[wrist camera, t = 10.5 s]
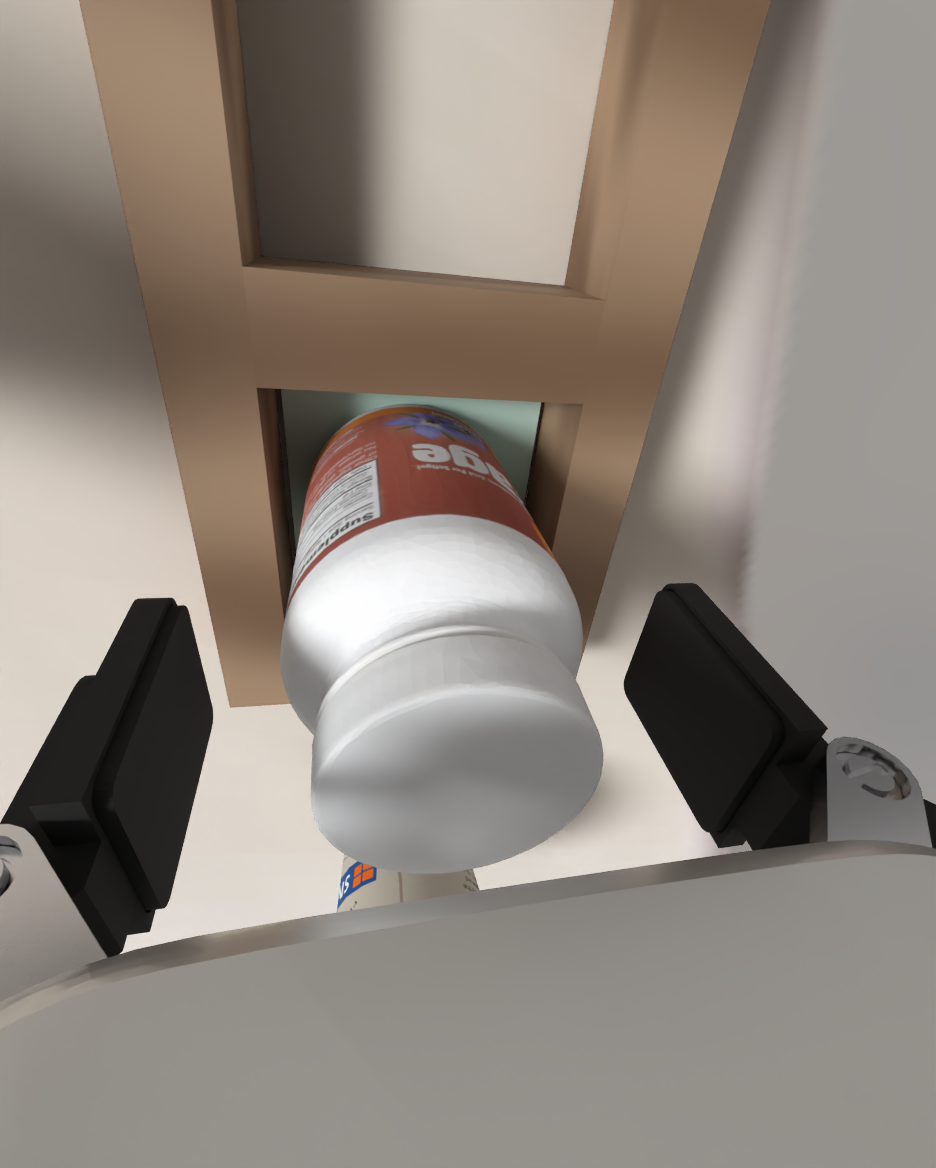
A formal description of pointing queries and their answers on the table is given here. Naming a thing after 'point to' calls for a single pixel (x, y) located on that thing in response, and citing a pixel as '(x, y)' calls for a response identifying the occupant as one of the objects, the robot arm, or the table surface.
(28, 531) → the table surface
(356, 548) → the pill bottle
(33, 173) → the table surface
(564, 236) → the table surface
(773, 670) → the robot arm
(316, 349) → the holder frame
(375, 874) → the coffee cup
